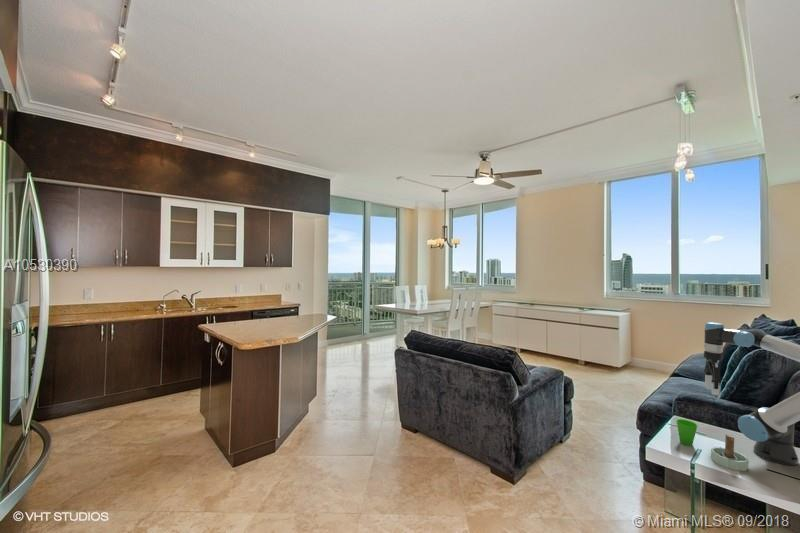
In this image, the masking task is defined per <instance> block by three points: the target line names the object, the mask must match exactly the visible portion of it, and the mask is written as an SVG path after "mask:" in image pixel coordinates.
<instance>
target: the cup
mask: <svg viewBox="0 0 800 533" xmlns="http://www.w3.org/2000/svg"><path fill="white" fill-rule="evenodd" d="M675 421H676V425H677V432H678V438H679V442H680V443H681V444H682V445H685V446H693V444H694V440H695V437H696V433H697V430H698V427H699V424H698V423H697V422H694V421H692V420H688V419H686V418H685V419H684V418H677V419H676V420H675Z"/></svg>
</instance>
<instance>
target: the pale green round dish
mask: <svg viewBox="0 0 800 533" xmlns="http://www.w3.org/2000/svg"><path fill="white" fill-rule="evenodd" d="M710 458H711V460H712V461H713V462H715V463H716V464H718V465H719V466H722V467H725V468H727V469H731V470H735V471H747V470H749V464H750V463H749V462H750V461H749V458H748V457H747V456H746V455H744V454H742V453H741V452H738V451H736V450H734V457H733V458H730V457H726V456H725V447H718V446H714V447H711V448H710Z"/></svg>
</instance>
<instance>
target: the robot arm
mask: <svg viewBox="0 0 800 533" xmlns="http://www.w3.org/2000/svg"><path fill="white" fill-rule="evenodd" d="M724 344H729V345H735V346H739V347H746V348H750V347H752V346H756V347H759V348H761V349H764V350H766V351H769V352H772V353H775V354H777V355H780V356H782V357H785V358H787V359H791V360H793V361H796V362H798V363H800V344H797V343H795V342H792V341H789V340H786V339H783V338H780V337H777V336H773V335H771V334H769V333H766V332H765V331H764V330H761V329H756V328H751V329H731V328H730V329H729V328H726V327H725V326H724V323H719V322H713V321H711V322H706V323H705V325H704V344H702V347H703V358H705V359H706V361H705V365H704V371H703V372H704V387H706V388H711V395H713V396H720V384H722V379H721V377H722V376H721V369H720V368H721V366H720V365H721V364H720V363H718V361H722V360H723V357H724V354H723V352H724ZM797 422H800V391H798V392H797V393H795V394H793V395H791V396H789V397H788V398H784V399H783V400H782V401H780V402H778V403H777V404H774V405H773V406H771V407H765V406H761V407H760V408H758V409H756V410H754V411H753V412H751V413H749V414H744V415H742V416H739V417H738V419H737V427H738V429H739V431H740V432H741V434H743V435H744V436H745V437H746V438H748V439H749V440H750V441H754V442H755V443H754V444H753V452H754V454H756V455H757V456H759V457H761V458H763V459H765V460H768V461H771V462H773V463H777V464H782V465H785V466H797V465H796V464H798V465H799V457H798V454H797V452H796V449H795V446H794V443H795V442H794V441H795V424H796V423H797Z"/></svg>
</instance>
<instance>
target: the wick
mask: <svg viewBox="0 0 800 533" xmlns="http://www.w3.org/2000/svg"><path fill="white" fill-rule="evenodd" d="M724 444H725V446H724V448H725V456H726V457H730V458H733V457H734V451H735V436H733V434H727V433H726V434H725V443H724Z"/></svg>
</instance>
